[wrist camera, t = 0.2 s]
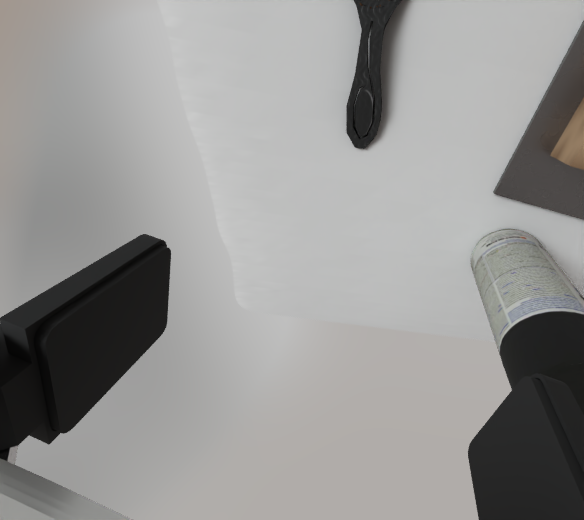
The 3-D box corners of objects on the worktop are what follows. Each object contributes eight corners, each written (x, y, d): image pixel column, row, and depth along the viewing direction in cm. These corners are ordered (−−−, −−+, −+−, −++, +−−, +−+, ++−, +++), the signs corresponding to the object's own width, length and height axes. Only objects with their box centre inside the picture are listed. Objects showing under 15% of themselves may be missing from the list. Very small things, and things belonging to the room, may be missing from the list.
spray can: (511, 294, 39) (597, 467, 22) (454, 266, 39) (494, 414, 22) (557, 246, 35) (701, 404, 18) (494, 215, 36) (577, 343, 18)
